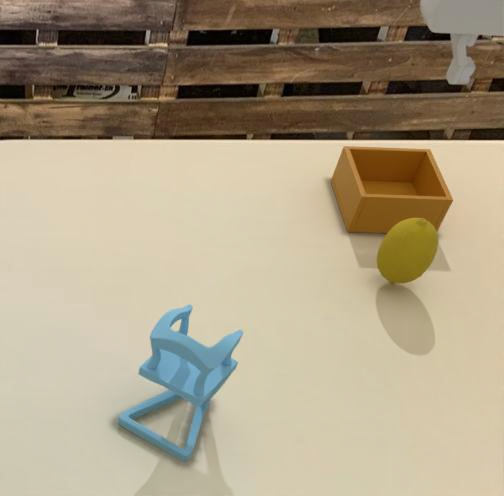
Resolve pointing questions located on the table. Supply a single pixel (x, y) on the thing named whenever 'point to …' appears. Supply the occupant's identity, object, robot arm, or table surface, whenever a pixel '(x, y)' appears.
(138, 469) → the table surface
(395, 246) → the lemon
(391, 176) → the ochre bin
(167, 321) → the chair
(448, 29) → the robot arm
